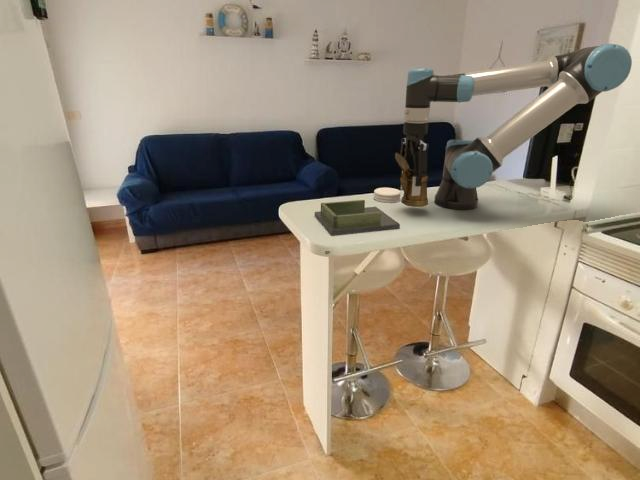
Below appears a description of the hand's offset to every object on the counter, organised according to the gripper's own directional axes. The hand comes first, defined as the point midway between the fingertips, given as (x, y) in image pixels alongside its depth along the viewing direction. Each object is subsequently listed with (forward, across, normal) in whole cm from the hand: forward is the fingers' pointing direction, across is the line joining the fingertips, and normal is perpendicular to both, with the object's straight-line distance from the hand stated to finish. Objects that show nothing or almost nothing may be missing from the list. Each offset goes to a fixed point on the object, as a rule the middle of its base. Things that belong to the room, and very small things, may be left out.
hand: (410, 192), depth 133 cm
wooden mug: (+4, 0, 0) cm, 4 cm away
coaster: (+7, -16, 0) cm, 18 cm away
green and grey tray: (+7, +5, -21) cm, 23 cm away
